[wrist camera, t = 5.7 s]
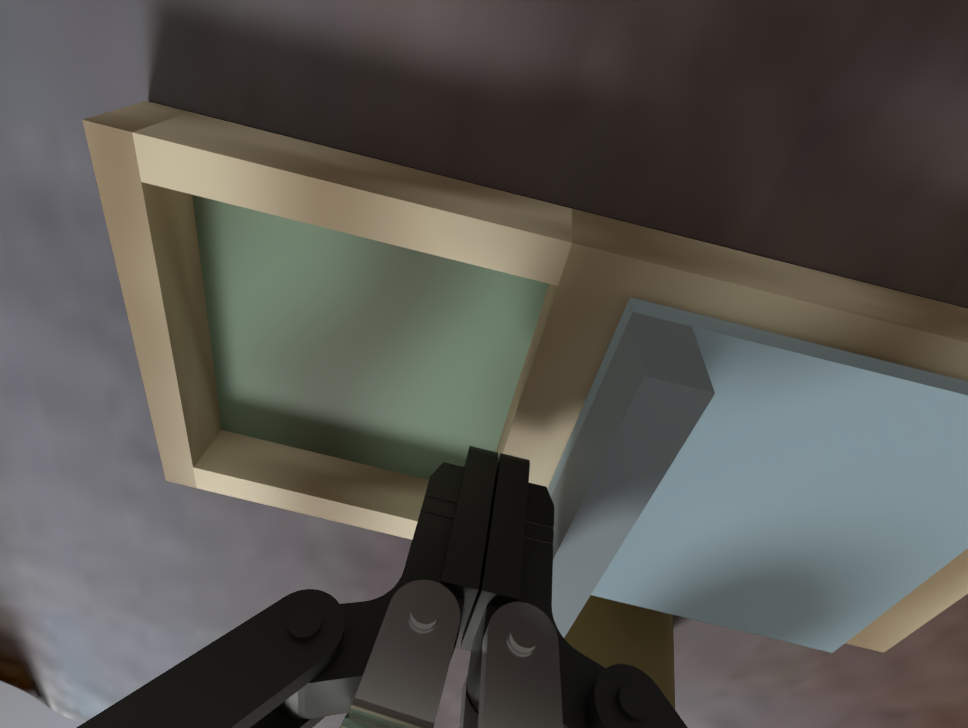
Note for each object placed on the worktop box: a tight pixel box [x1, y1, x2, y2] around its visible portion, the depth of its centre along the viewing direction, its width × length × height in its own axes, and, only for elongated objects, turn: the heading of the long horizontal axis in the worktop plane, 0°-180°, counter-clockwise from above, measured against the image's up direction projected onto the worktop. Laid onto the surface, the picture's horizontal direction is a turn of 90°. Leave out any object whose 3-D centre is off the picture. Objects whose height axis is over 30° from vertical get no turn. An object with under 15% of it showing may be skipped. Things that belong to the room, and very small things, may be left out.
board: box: [83, 101, 968, 653], centre depth 15 cm, size 24×11×2 cm, turn 78°
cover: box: [548, 297, 968, 653], centre depth 13 cm, size 10×10×3 cm
